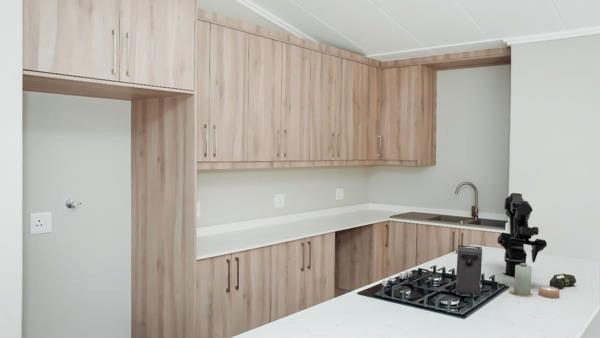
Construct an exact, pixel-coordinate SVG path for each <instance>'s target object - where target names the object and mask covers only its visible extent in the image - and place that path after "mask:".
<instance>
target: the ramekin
mask: <svg viewBox="0 0 600 338" xmlns="http://www.w3.org/2000/svg"><path fill="white" fill-rule="evenodd" d="M560 291H561V290H560V289H558V288H555V287H551V286H549V285H541V286H540V285H539V286H538V290H537V292H538V296H540V297H543V298H548V299H559V298H560V293H561V292H560Z"/></svg>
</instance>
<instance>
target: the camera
mask: <svg viewBox="0 0 600 338" xmlns="http://www.w3.org/2000/svg"><path fill="white" fill-rule="evenodd" d="M453 253H454V254H456V255H457V257H456V263H457V264H456V275H455V289H456V292H459V293H460V294H471V293H472V292H474V294H475V295H478V296H480V297H481V286H482V283H481V282H482V266H483V265H482V264H483V263H482V261H483V247H482V246H473V245H471V246H470V245H462V244H458V245H457V249H455V250H453Z"/></svg>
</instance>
